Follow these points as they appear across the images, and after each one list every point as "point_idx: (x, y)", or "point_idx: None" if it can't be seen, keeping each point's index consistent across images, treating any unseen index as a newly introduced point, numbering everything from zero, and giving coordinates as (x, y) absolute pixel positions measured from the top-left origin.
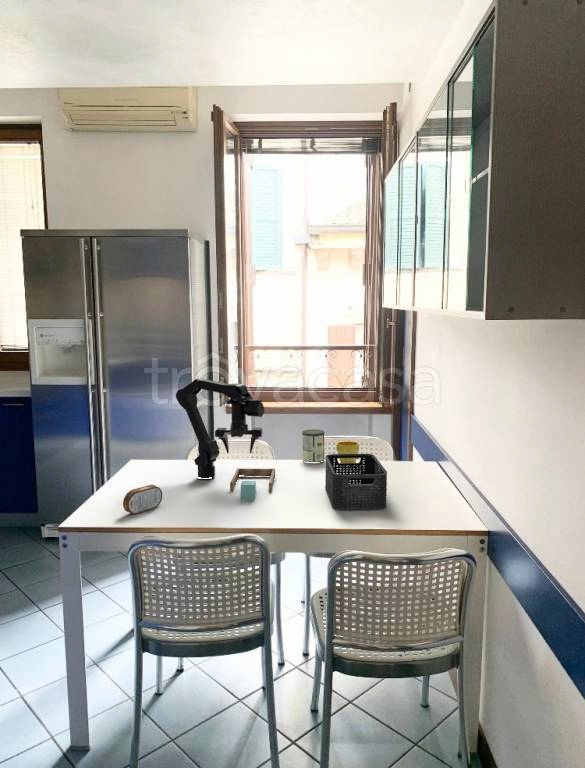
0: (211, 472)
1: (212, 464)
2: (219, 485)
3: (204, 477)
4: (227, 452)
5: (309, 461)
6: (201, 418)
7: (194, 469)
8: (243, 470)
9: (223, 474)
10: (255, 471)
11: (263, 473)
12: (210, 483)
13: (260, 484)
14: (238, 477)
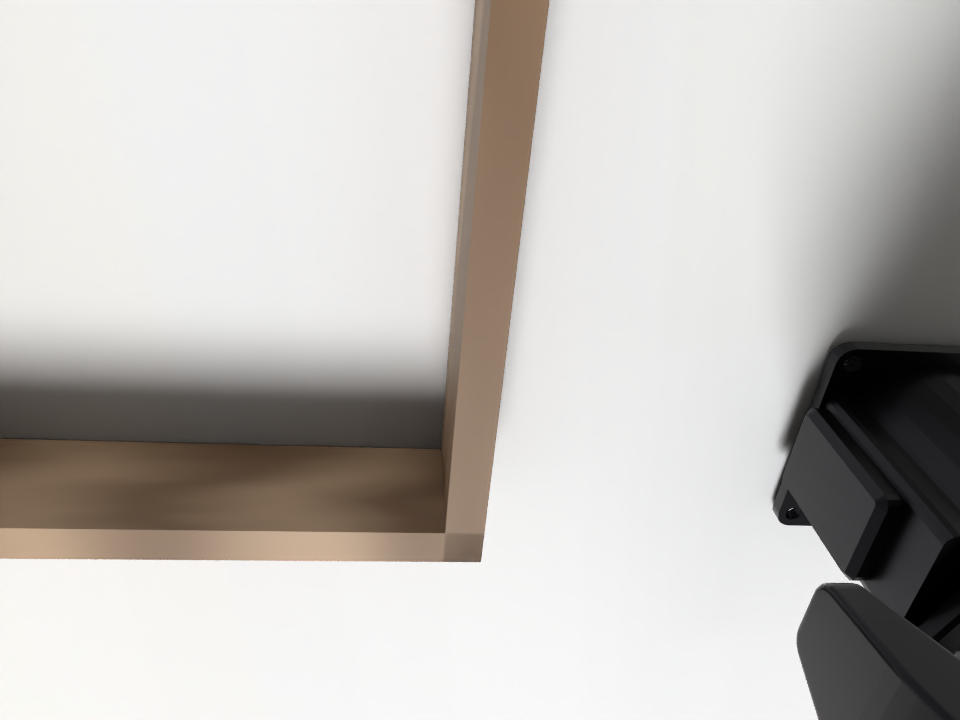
0: (882, 439)
1: (938, 539)
2: (762, 35)
3: (954, 370)
4: (869, 601)
5: None
6: None
7: None
8: (378, 515)
9: (656, 550)
10: (180, 500)
11: (55, 477)
12: (889, 164)
13: (10, 55)
14: (449, 369)
